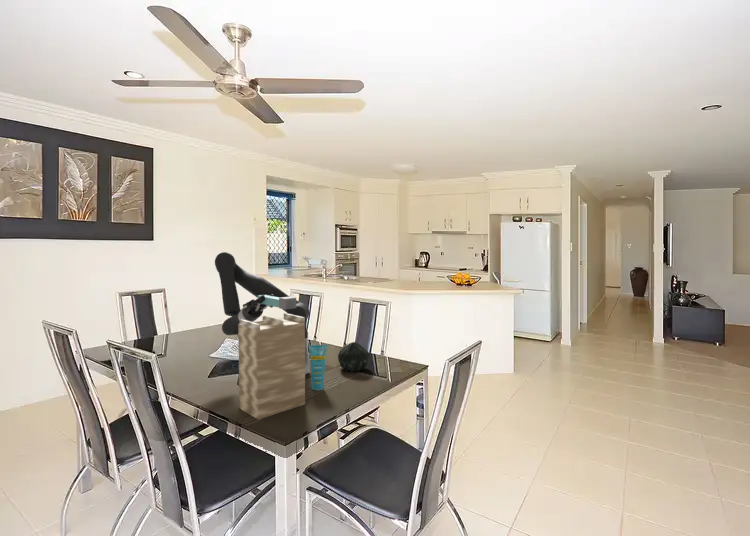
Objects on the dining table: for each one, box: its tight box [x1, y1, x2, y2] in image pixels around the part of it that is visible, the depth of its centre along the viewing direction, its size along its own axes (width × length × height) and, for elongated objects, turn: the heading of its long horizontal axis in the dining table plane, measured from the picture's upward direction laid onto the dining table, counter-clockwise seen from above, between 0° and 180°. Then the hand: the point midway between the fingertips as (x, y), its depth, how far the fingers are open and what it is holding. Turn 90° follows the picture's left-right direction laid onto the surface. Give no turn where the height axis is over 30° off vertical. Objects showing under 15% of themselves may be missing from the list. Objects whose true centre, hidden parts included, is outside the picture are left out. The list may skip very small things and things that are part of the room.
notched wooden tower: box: [237, 312, 306, 420], centre depth 157 cm, size 14×20×34 cm
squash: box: [337, 341, 369, 372], centre depth 203 cm, size 14×15×15 cm
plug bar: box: [258, 295, 297, 311], centre depth 161 cm, size 21×5×4 cm, turn 45°
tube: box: [308, 343, 328, 391], centre depth 176 cm, size 7×5×19 cm, turn 103°
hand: (268, 296), depth 165 cm, fingers closed on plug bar, 3 cm apart
